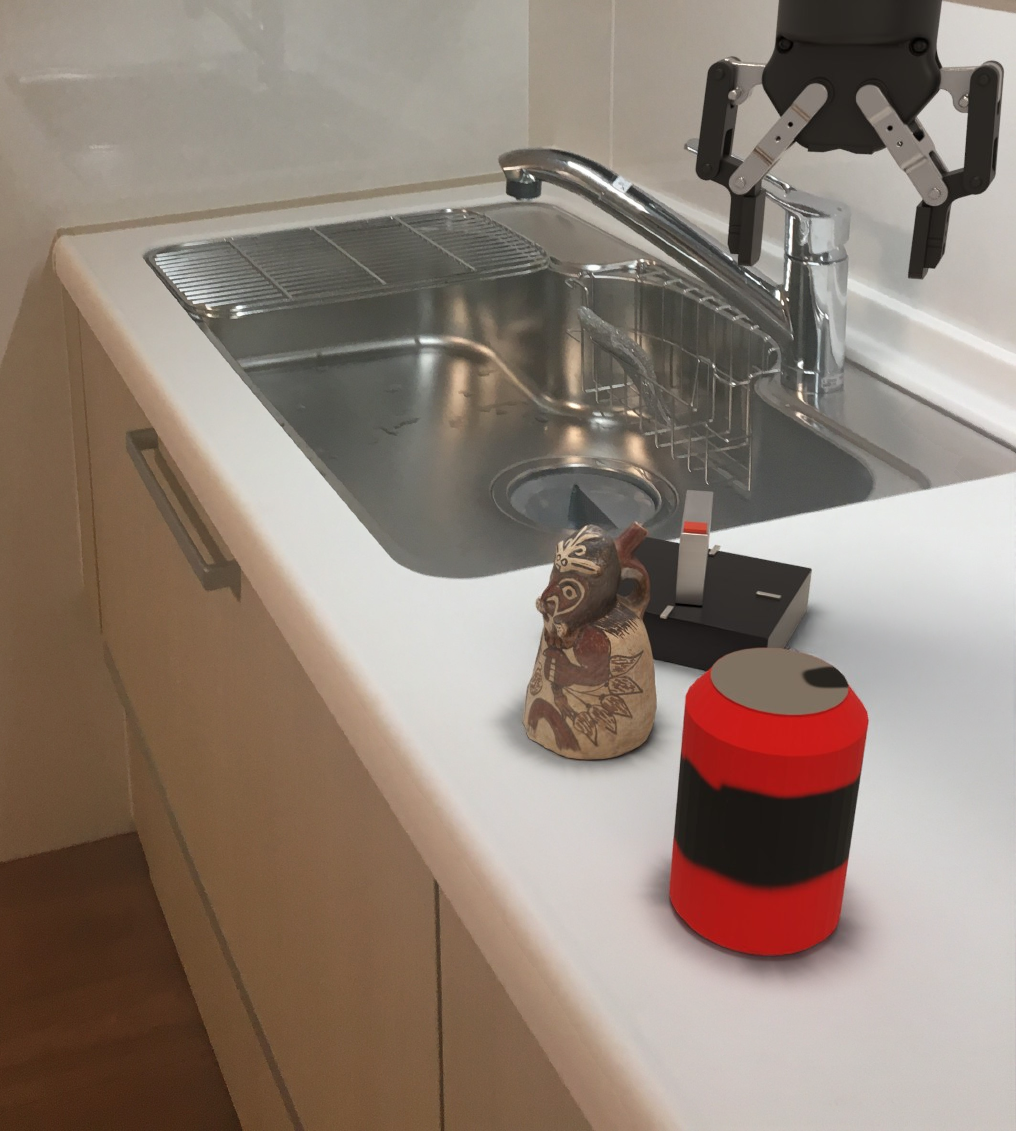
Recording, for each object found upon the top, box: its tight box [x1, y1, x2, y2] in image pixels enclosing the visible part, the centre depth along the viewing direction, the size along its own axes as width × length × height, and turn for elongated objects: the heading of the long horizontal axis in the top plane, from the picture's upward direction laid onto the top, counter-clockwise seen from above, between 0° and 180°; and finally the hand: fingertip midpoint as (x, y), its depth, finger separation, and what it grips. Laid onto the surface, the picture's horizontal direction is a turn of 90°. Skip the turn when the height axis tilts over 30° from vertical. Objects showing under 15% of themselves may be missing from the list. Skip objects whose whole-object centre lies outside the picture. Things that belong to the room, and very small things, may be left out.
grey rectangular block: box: [675, 489, 714, 606], centre depth 93 cm, size 6×2×5 cm, turn 164°
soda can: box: [668, 648, 870, 957], centre depth 68 cm, size 8×8×12 cm
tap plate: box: [616, 536, 813, 671], centre depth 95 cm, size 12×11×3 cm
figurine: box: [521, 521, 658, 760], centre depth 83 cm, size 7×7×12 cm
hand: (830, 269), depth 80 cm, fingers open, 8 cm apart
